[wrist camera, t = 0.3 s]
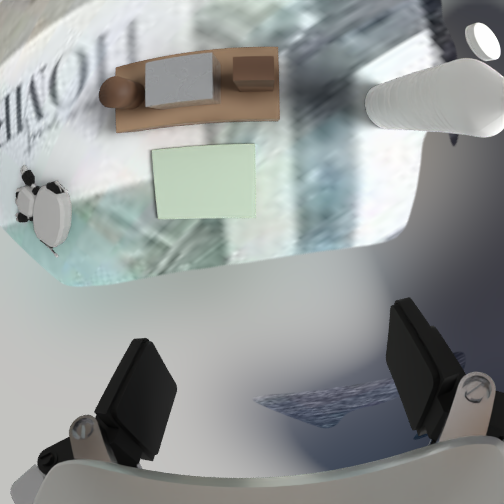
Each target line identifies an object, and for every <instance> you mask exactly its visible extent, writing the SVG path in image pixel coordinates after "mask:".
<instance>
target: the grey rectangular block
mask: <svg viewBox="0 0 504 504" xmlns="http://www.w3.org/2000/svg"><path fill="white" fill-rule="evenodd" d="M145 104H146V107H150V108H156V109H162V110H164V109H171V108H179V107H188V106H198V105H209V104H221V65H220V62H219V61H218V60H217V58H216V57H215V55H214V54H213V53H212V52H211V53H202V54H193V55H186V56H179V57H173V58H167V59H162V60H157V61H152V62H147V63H146V67H145Z"/></svg>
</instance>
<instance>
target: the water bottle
mask: <svg viewBox="0 0 504 504" xmlns="http://www.w3.org/2000/svg"><path fill="white" fill-rule="evenodd" d="M465 36H466V40H467V42H468V44H469V46H470V48H471V50H472V51H473V52H474V53H475V55H477V56H478V57H479V58H480V59H482V60H484V61H489V60H495V59H497V58H499V56H500V46H499V43H498V41H497V38H496V37H495V35H494V34H493V32H492V31H491V30H490V29H489V28H488V27H487V26H486V25H484V24H482V23H475V24H472V25H469V26H467V28H466V30H465ZM468 36H469V37H468ZM469 39H470V40H469ZM470 42H471V43H470ZM471 44H472V45H471ZM475 50H476V51H475ZM365 108H366V112H367V114H368V116H369V118H370V119H371V121H373V122H374V124H376V125H377V126H379V127H381V128H383V129H388V130H414V131H416V130H417V131H429V132H446V133H456V134H464V135H471V136H476V137H490V136H493V135H496V134H498V133H499V132H500V131H502V130H503V129H504V77H503V76H502V75H500V74H499V73H498V72H497V71H495V70H494V69H493V68H491V67H490V66H488V65H487V64H485V63H483V62H481V61H478V60H476V59H470V58H462V59H458V60H454V61H451V62H449V63H444V64H441V65H438V66H434V67H431V68H427V69H424V70H421V71H417V72H413V73H411V74H408V75H405V76H402V77H399V78H396V79H393V80H390V81H388V82H385V83H382V84H379V85H377V86H374V87H373V88H371V89H370V90H369V92H368V93H367V96H366V98H365Z"/></svg>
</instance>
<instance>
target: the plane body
mask: <svg viewBox="0 0 504 504" xmlns="http://www.w3.org/2000/svg"><path fill="white" fill-rule="evenodd" d="M211 52H212V53H213V54H214V55H215V57H216V58H217V60H218V61H219V62H220V65H221V104H209V105H198V106H188V107H179V108H171V109H164V110H162V109H156V108H150V107H146V104H145V67H146V63H147V62H152V61H157V60H162V59H167V58H173V57H179V56H186V55H193V54H202V53H211ZM99 99H100V102H101V103H102V105H104V106H105V107H109V108H115V111H116V133H124V132H136V131H143V130H149V129H157V128H165V127H173V126H183V125H193V124H206V123H221V122H247V121H279V119H280V109H279V62H278V47H241V48H225V49H213V50H204V51H195V52H188V53H181V54H175V55H169V56H163V57H158V58H153V59H149V60H144V61H140V62H135V63H131V64H127V65H123V66H120V67H116V74H115V76H114V77H110V78H109V79H107V80H106V81H105V82H104V83H103V84H102V86H101V88H100V91H99Z"/></svg>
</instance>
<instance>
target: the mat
mask: <svg viewBox="0 0 504 504" xmlns="http://www.w3.org/2000/svg"><path fill="white" fill-rule="evenodd" d="M152 161H153V174H154V185H155V195H156V205H157V214H158V219H192V218H256V184H255V144H223V145H204V146H189V147H177V148H167V149H157V150H152Z"/></svg>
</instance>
